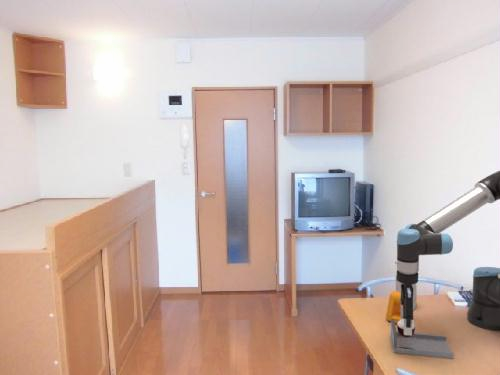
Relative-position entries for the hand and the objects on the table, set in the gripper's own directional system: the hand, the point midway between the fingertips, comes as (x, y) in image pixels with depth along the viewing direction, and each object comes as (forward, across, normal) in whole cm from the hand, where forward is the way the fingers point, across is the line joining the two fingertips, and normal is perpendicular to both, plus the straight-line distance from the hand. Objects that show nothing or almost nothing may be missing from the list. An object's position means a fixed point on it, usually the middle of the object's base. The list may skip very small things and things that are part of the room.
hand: (406, 327), depth 147 cm
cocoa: (+3, 0, 0) cm, 3 cm away
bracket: (+7, -21, 0) cm, 22 cm away
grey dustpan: (+7, 0, +5) cm, 9 cm away
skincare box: (+7, -35, +4) cm, 36 cm away
